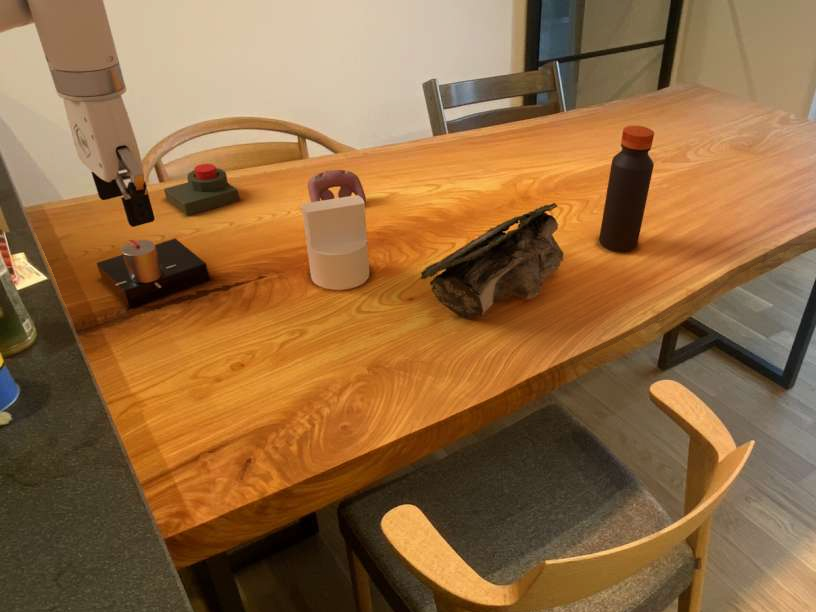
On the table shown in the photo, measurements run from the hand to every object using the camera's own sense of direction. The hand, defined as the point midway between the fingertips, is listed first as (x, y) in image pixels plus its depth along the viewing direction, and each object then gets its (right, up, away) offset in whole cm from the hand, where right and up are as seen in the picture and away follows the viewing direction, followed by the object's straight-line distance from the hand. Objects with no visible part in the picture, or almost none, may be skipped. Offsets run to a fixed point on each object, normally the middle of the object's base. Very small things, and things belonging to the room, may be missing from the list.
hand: (127, 209), depth 94 cm
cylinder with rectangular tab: (+26, -7, +15) cm, 30 cm away
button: (-2, +13, +31) cm, 34 cm away
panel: (0, -9, +10) cm, 13 cm away
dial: (0, -8, +6) cm, 10 cm away
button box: (-3, +9, +32) cm, 33 cm away
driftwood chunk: (+50, -10, +13) cm, 52 cm away
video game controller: (+21, +9, +34) cm, 41 cm away
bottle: (+72, 0, +28) cm, 77 cm away
